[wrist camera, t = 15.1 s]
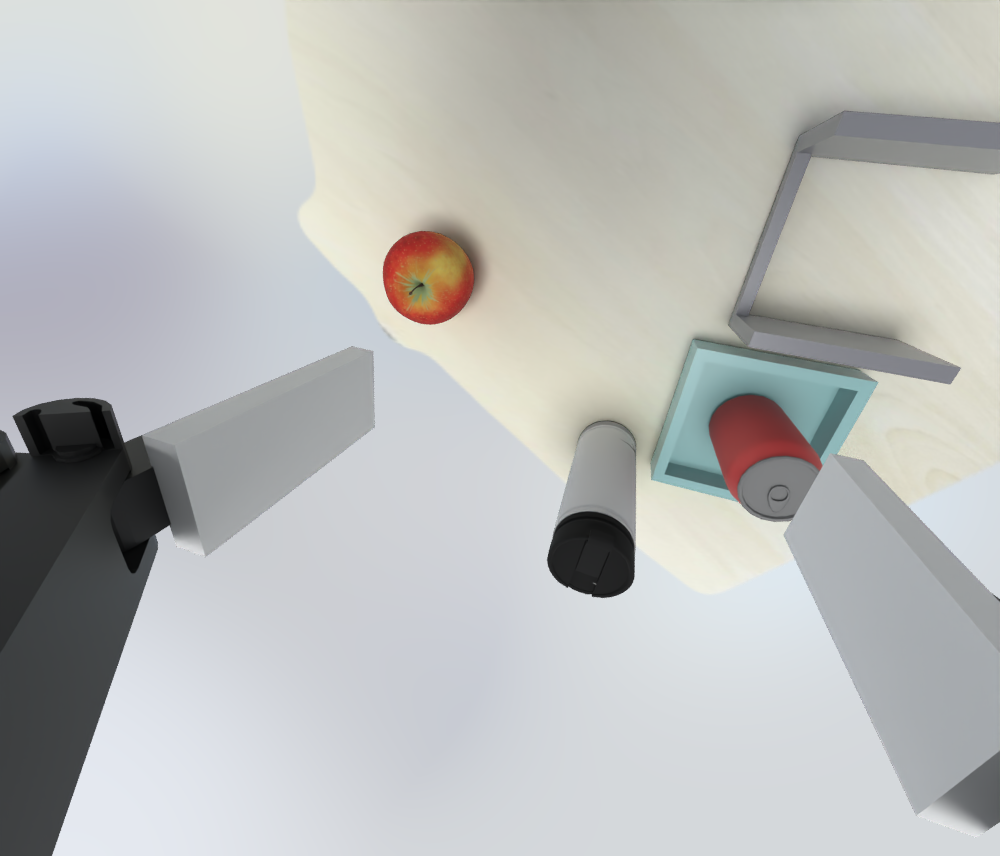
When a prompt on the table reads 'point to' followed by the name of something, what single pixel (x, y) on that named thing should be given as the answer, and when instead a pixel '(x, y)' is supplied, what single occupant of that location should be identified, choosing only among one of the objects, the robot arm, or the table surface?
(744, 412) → the beer can
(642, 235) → the table surface
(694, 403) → the tray
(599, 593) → the travel mug
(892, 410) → the table surface
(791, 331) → the bay
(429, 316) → the apple
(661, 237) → the table surface
